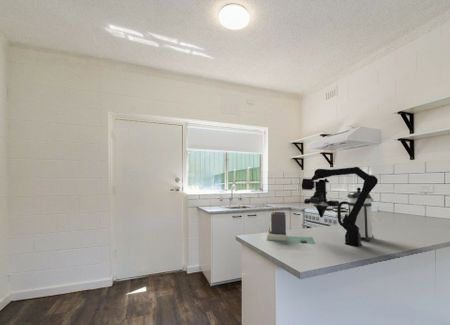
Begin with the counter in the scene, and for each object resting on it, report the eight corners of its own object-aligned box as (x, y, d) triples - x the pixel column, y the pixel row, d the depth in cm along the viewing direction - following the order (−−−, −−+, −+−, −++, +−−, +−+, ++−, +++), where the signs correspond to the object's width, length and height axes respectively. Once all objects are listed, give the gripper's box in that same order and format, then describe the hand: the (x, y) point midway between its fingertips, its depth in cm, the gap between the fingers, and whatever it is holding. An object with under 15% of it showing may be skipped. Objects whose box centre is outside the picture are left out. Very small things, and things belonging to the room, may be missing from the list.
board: (312, 238, 133) (312, 227, 134) (315, 245, 120) (315, 233, 120) (267, 235, 140) (267, 225, 140) (266, 242, 126) (266, 230, 126)
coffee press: (366, 234, 143) (364, 186, 144) (381, 241, 127) (378, 188, 129) (337, 233, 144) (336, 186, 146) (348, 240, 128) (347, 188, 130)
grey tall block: (285, 237, 133) (285, 211, 134) (285, 239, 128) (285, 213, 129) (271, 236, 135) (271, 211, 136) (271, 238, 130) (271, 212, 131)
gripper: (298, 190, 134) (299, 216, 133) (329, 191, 120) (330, 221, 119) (308, 189, 141) (309, 214, 140) (339, 190, 127) (340, 219, 126)
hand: (321, 217), depth 131 cm, fingers closed
